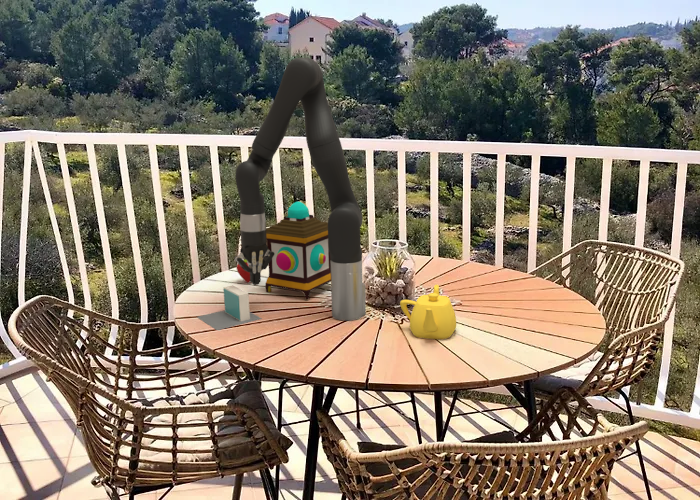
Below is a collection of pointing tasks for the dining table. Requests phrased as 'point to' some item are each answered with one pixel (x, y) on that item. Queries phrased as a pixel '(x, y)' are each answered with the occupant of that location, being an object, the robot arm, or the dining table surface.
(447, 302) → the teapot
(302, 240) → the decorative lantern
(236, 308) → the block
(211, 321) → the mat
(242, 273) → the strawberry
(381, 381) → the dining table surface
